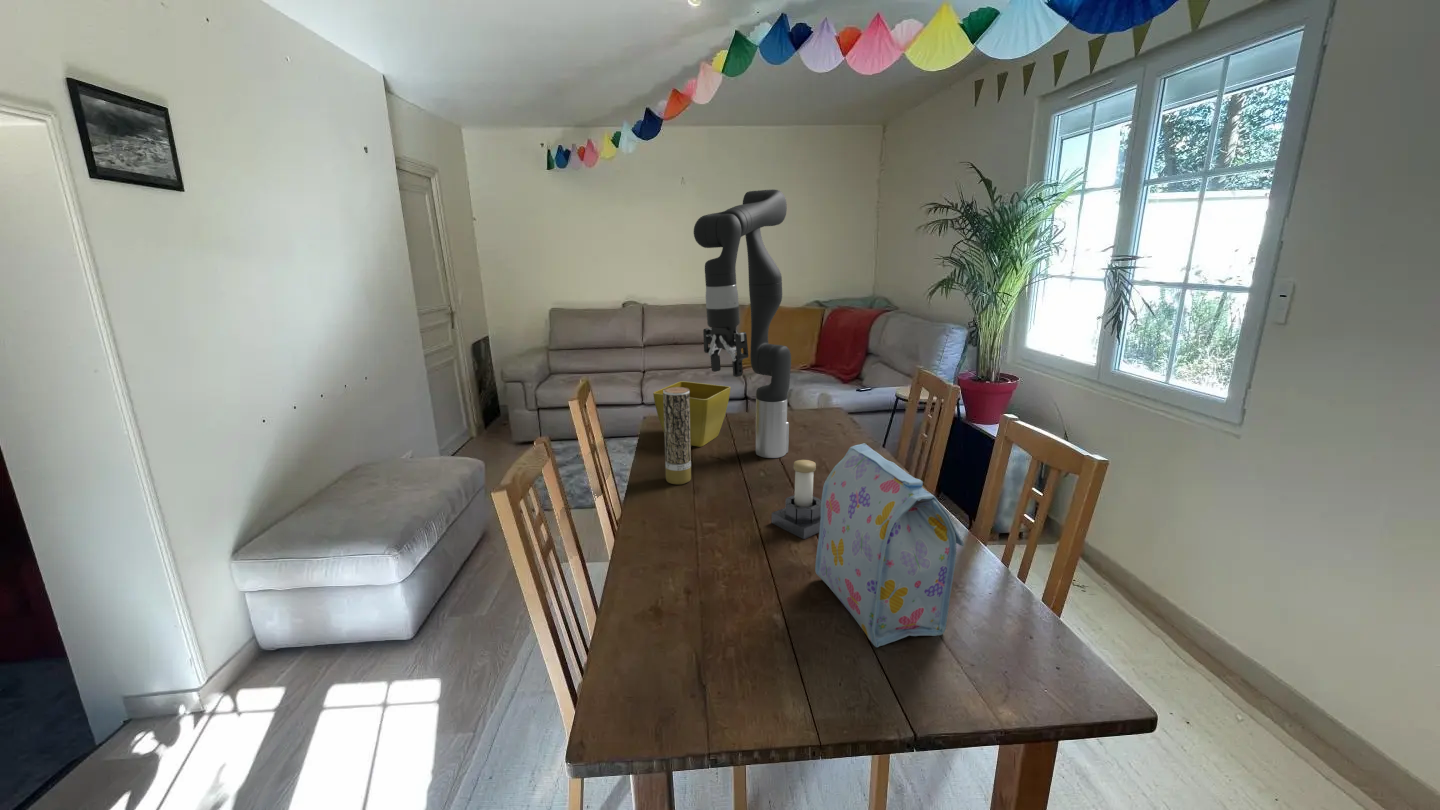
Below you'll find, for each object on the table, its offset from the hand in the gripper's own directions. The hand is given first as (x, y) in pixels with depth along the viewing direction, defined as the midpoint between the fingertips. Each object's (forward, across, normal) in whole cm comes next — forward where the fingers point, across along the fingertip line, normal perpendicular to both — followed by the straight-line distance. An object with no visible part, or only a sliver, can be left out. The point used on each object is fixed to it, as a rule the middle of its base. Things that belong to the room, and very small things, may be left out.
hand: (726, 373), depth 140 cm
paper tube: (+31, +16, +6) cm, 35 cm away
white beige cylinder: (+30, -22, -2) cm, 37 cm away
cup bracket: (+32, -23, -2) cm, 39 cm away
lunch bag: (+32, -53, +9) cm, 63 cm away
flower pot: (+32, +43, -16) cm, 56 cm away
